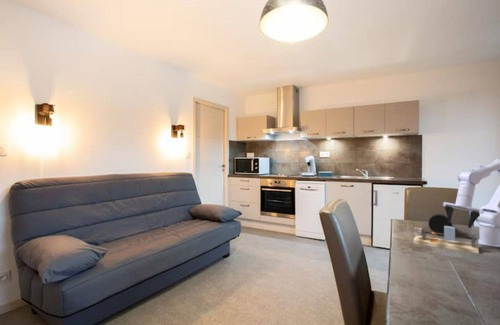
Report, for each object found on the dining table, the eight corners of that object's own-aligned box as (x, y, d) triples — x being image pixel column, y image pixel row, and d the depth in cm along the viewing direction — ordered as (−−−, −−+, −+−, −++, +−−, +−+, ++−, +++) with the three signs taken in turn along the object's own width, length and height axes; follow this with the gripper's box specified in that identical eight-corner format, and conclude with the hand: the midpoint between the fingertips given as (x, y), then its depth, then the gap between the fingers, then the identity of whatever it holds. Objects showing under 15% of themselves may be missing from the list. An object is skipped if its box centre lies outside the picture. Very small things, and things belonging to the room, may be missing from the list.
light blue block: (454, 239, 121) (454, 226, 121) (455, 241, 118) (454, 228, 118) (444, 237, 124) (444, 225, 124) (444, 239, 121) (444, 227, 121)
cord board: (477, 247, 119) (476, 233, 119) (478, 253, 111) (478, 238, 111) (415, 238, 134) (415, 225, 134) (413, 243, 126) (413, 229, 126)
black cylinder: (443, 230, 163) (452, 217, 161) (445, 238, 135) (456, 222, 134) (426, 221, 169) (434, 208, 167) (424, 227, 141) (434, 211, 139)
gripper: (443, 192, 123) (437, 219, 123) (483, 199, 112) (477, 229, 111) (448, 194, 128) (442, 221, 127) (486, 201, 116) (480, 230, 116)
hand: (458, 225), depth 120 cm, fingers open, 7 cm apart
